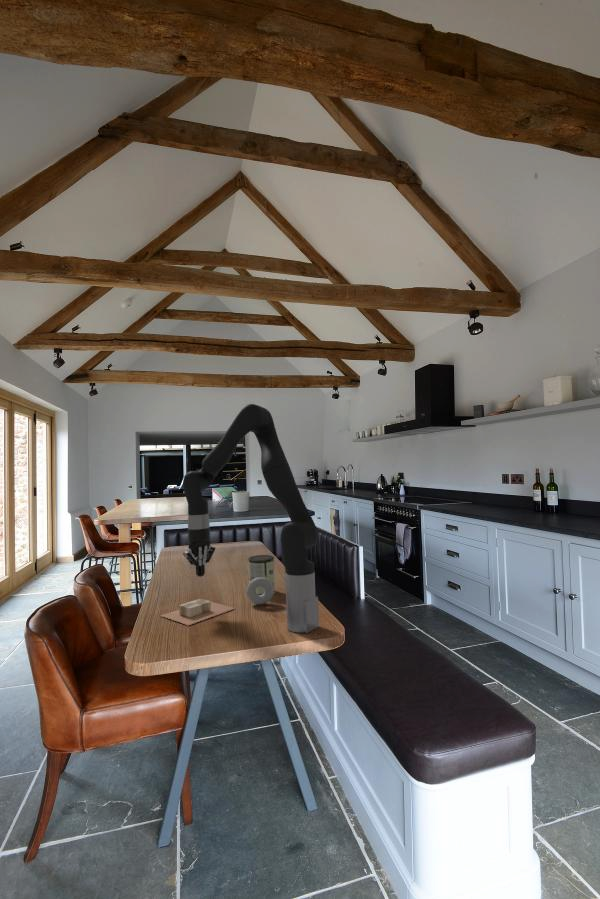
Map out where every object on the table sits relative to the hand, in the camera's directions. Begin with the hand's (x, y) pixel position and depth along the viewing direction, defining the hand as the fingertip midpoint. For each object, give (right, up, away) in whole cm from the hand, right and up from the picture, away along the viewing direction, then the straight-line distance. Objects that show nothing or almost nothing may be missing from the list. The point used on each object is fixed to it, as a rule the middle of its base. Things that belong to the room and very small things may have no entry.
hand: (200, 576), depth 157 cm
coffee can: (+20, -13, +21) cm, 32 cm away
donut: (+21, -12, +6) cm, 25 cm away
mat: (-1, -13, -1) cm, 13 cm away
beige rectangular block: (+1, -10, +1) cm, 11 cm away
